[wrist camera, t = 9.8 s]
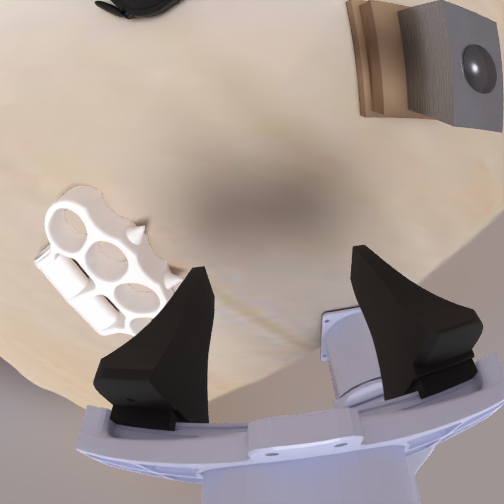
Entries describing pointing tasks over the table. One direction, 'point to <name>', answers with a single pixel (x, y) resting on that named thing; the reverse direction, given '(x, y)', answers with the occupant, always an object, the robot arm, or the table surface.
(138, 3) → the carrying case or bag
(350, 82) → the table surface
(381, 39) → the stand
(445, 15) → the block
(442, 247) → the table surface
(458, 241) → the table surface
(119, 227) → the white brass knuckles
